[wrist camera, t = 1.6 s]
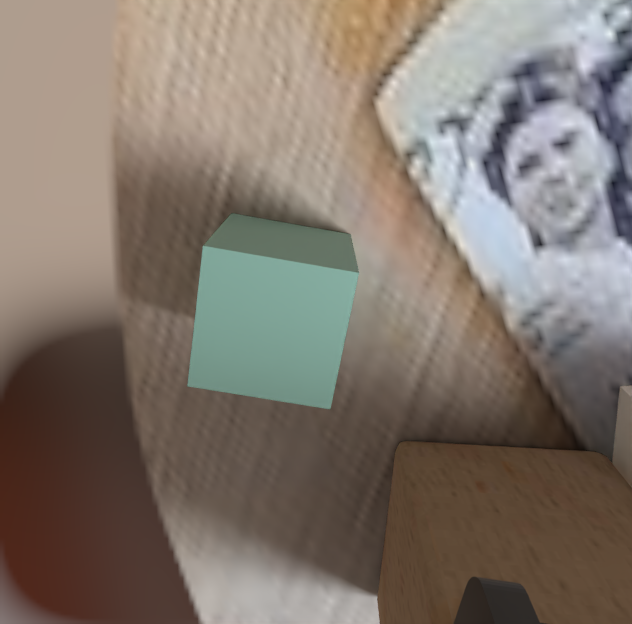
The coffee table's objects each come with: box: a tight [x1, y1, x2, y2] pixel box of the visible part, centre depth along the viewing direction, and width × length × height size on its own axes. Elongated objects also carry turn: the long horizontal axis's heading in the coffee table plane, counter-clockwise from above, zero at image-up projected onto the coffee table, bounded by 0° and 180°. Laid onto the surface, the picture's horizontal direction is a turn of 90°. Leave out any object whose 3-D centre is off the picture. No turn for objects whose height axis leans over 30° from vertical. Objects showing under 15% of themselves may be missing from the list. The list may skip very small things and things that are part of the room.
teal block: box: [187, 213, 359, 409], centre depth 22 cm, size 5×5×6 cm
